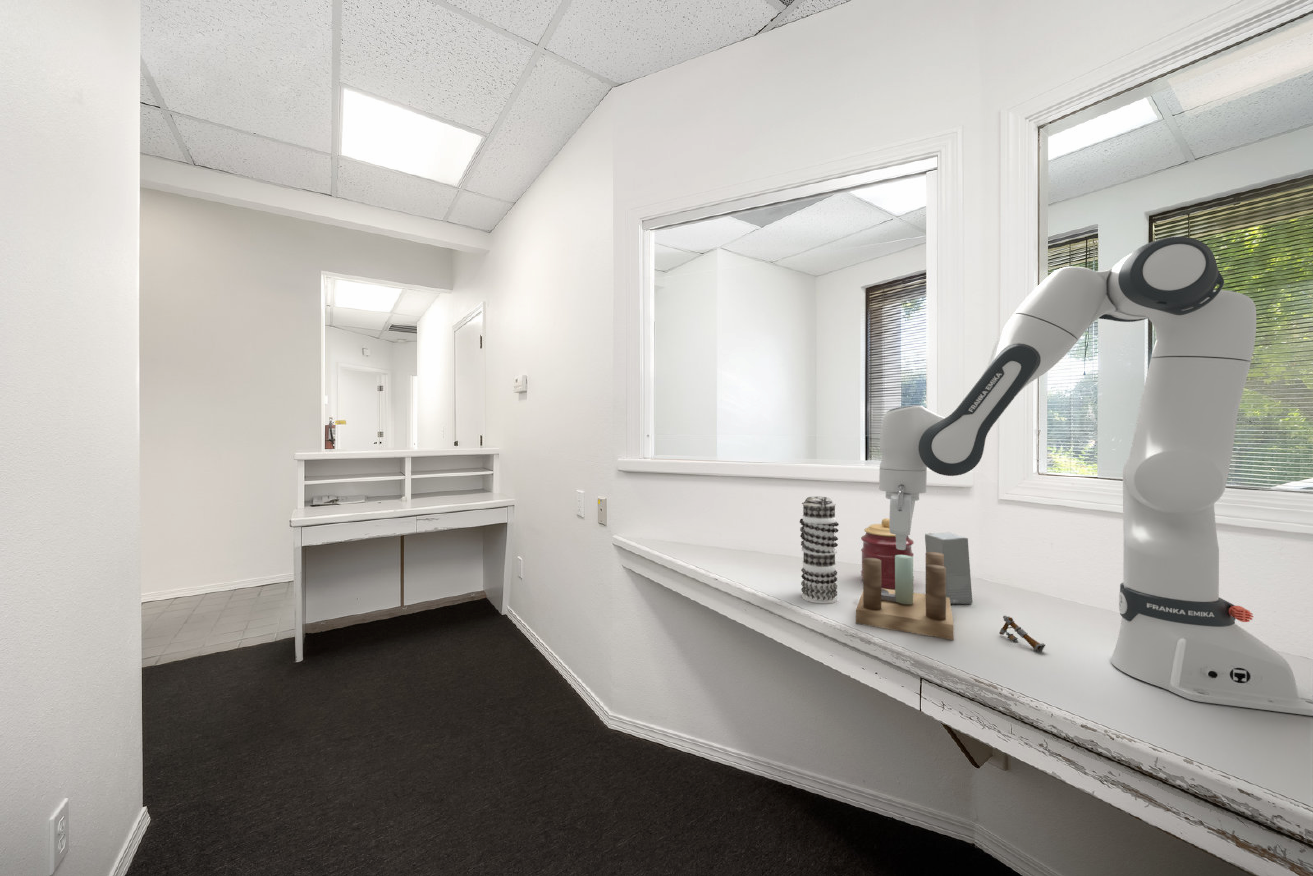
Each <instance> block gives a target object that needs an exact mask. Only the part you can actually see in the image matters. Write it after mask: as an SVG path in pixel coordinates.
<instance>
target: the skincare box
mask: <svg viewBox="0 0 1313 876" xmlns="http://www.w3.org/2000/svg"><path fill="white" fill-rule="evenodd" d="M924 539H925V540H924V541H925V543H924V544H925V553H926V552H937V553H941V554H944V567H945V568H946V597H949V598H950V605H951V604H971V605H972V604H973V592H972V589H973V588H972V578H971V565H970V553H969V552H970V551H969V538H968V537H965V536H961V535H958V534H955V533H952V532H933V533H932V532H930V533H925V534H924Z"/></svg>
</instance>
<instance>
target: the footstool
mask: <svg viewBox="0 0 1313 876" xmlns="http://www.w3.org/2000/svg"><path fill="white" fill-rule="evenodd" d="M862 583H863V584H862V587H863V588H862V589H863V590H862V593H861V595H860V598H859V601H858V603H857V606H856V608H855V624H857V623H860V624H859V625H863V624H865V625H864V626H869V625H870V626H869V627H876V628H880V627H882V628H881V629H886V628H887V629H888V630H894V631H899V632H905V633H909V632H912V633H911V634H915V633H917V634H916V635H921V634H923V635H922V636H927V635H928V636H929V637H933V636H935V637H934V638H938V637H940V638H939V639H944V640H945V639H946V640H951V641H954V639H955V638H954V626H955V625H954V621H953V620H954V618H953V613H952V607H951V606H952V605H951V604H950V598H949V597H946V568H945V567H944V554H941V553H937V552H926V551H925V593H920V592H919V593H918V592H913V604H901V603H898V602H895V601H888V600H881V593H887V594H895V589H885V588H881V560H880V559H876V558H864V559H863V580H862Z"/></svg>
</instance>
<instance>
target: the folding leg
mask: <svg viewBox="0 0 1313 876" xmlns="http://www.w3.org/2000/svg"><path fill="white" fill-rule="evenodd" d="M913 576H914V556H913V557H911V556H907V555H895V589H894V590H895V594H887V593H881V600H888V601H895V602H898V603H901V604H913V593H914V581H913V579H914V578H913Z"/></svg>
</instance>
